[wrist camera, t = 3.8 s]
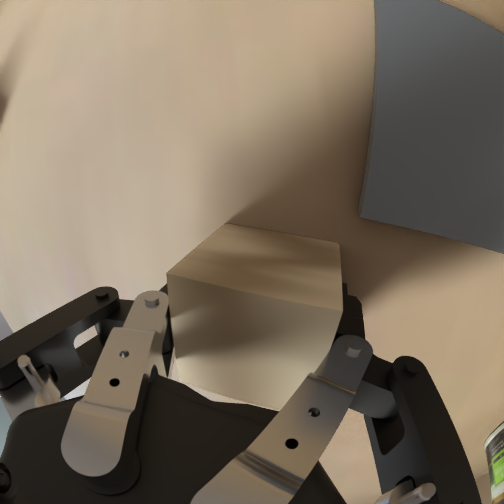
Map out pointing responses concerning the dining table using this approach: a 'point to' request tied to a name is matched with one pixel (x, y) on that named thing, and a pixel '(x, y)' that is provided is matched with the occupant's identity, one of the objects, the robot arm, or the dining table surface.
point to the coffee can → (496, 463)
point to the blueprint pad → (436, 124)
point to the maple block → (254, 312)
